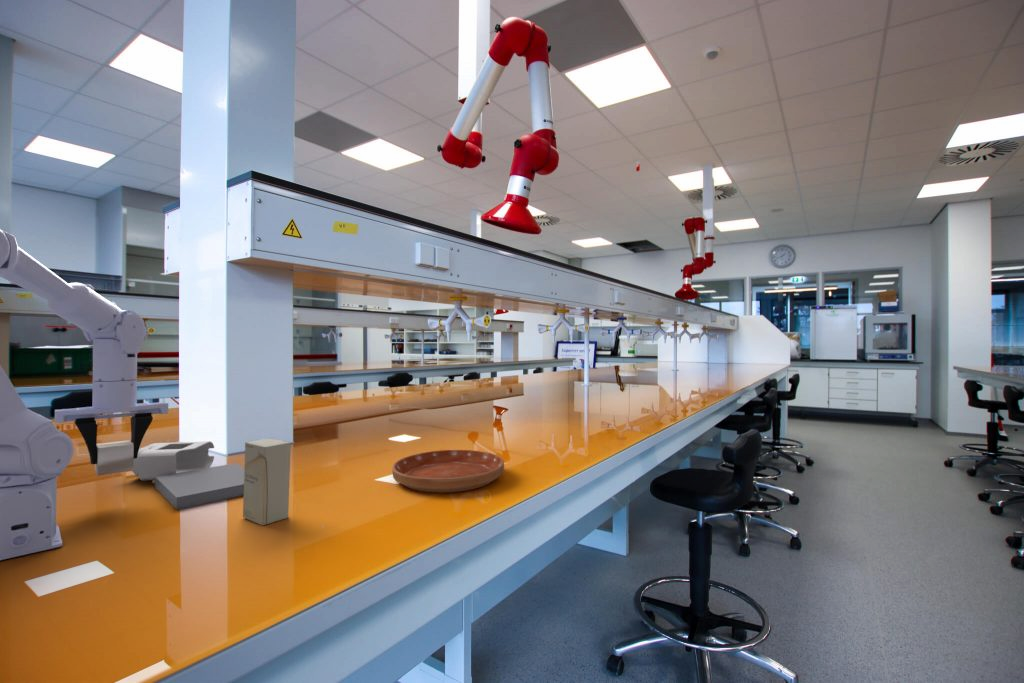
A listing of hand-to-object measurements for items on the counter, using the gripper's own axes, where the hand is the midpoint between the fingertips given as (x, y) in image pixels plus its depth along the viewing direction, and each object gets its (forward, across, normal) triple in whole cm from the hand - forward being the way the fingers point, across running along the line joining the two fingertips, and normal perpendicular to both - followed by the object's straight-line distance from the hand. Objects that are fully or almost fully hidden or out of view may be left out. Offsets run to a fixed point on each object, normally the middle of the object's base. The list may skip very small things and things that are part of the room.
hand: (114, 460), depth 78 cm
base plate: (+8, -14, 0) cm, 16 cm away
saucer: (+8, -50, +28) cm, 58 cm away
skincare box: (+8, -16, +24) cm, 30 cm away
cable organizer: (+8, -11, -16) cm, 21 cm away
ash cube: (+2, 0, 0) cm, 2 cm away
